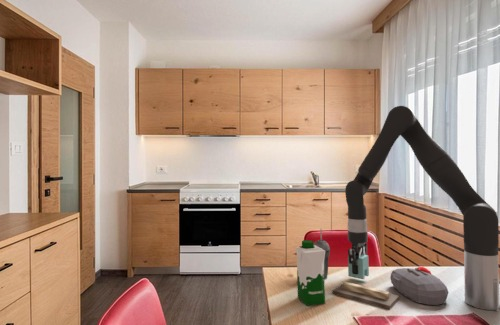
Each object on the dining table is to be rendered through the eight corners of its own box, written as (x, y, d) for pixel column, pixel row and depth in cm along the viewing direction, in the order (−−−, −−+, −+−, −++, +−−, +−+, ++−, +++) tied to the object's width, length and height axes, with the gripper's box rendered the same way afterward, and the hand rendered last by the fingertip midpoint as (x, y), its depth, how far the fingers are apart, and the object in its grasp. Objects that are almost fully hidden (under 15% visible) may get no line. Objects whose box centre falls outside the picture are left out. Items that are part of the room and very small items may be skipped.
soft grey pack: (384, 285, 124) (417, 309, 104) (384, 264, 124) (417, 283, 104) (421, 283, 126) (460, 306, 106) (420, 262, 126) (460, 280, 106)
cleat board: (399, 299, 112) (399, 290, 112) (389, 309, 104) (389, 299, 104) (344, 285, 125) (344, 277, 125) (332, 293, 117) (332, 284, 117)
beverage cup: (311, 279, 131) (310, 230, 131) (313, 273, 138) (312, 227, 138) (330, 281, 129) (329, 231, 129) (331, 275, 136) (330, 227, 136)
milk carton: (316, 293, 117) (315, 238, 117) (329, 304, 108) (328, 244, 108) (294, 296, 115) (293, 240, 115) (305, 307, 106) (304, 247, 106)
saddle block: (368, 275, 129) (368, 255, 130) (363, 279, 125) (362, 258, 125) (354, 272, 133) (353, 252, 133) (348, 276, 129) (347, 256, 129)
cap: (431, 278, 122) (435, 267, 126) (415, 271, 125) (419, 259, 129) (426, 290, 127) (429, 278, 131) (410, 282, 130) (414, 271, 133)
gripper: (359, 234, 122) (360, 278, 121) (373, 227, 132) (374, 269, 132) (340, 231, 126) (341, 274, 126) (355, 225, 137) (356, 265, 137)
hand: (358, 271), depth 129 cm, fingers closed on saddle block, 5 cm apart
